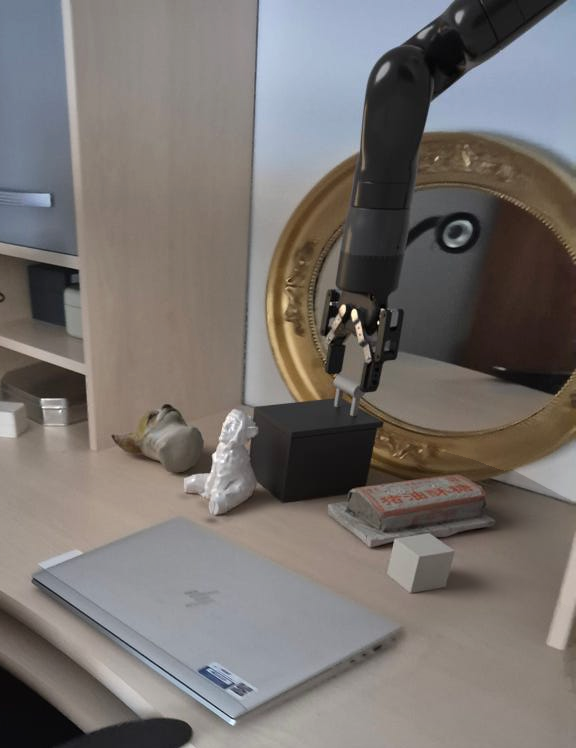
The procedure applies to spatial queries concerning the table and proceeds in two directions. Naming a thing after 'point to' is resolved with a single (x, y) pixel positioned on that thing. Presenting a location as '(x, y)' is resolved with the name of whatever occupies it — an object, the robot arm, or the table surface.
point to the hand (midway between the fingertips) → (349, 382)
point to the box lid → (321, 413)
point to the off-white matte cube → (420, 562)
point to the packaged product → (413, 509)
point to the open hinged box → (310, 462)
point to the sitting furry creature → (228, 467)
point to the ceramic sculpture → (164, 439)
